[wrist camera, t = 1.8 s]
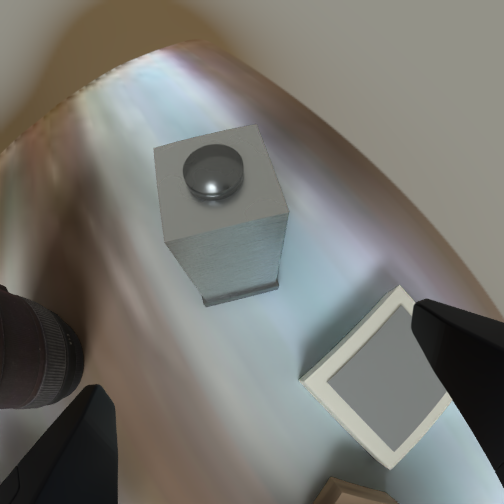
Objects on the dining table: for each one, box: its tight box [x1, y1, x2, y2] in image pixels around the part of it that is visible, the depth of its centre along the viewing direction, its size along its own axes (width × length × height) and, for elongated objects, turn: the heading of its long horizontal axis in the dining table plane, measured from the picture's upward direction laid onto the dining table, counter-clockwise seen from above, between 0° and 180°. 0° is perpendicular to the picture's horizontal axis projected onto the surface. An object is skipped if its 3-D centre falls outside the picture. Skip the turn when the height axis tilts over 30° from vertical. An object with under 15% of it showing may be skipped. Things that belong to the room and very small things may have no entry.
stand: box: [299, 285, 452, 470], centre depth 18 cm, size 9×9×3 cm
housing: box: [154, 124, 289, 307], centre depth 17 cm, size 5×5×12 cm
